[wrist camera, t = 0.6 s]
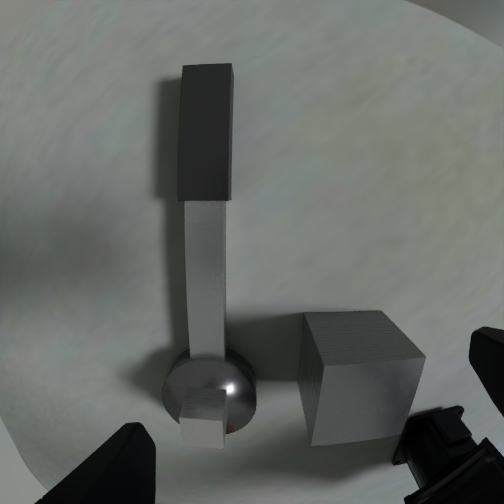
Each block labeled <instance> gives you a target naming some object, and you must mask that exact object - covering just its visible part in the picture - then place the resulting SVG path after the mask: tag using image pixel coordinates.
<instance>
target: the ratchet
mask: <svg viewBox="0 0 504 504" xmlns="http://www.w3.org/2000/svg"><path fill="white" fill-rule="evenodd" d="M233 88H234V74H233V69H232V63H224V64H200V65H185V66H183V70H182V84H181V100H180V120H179V146H178V201H185V265H186V292H187V312H188V329H189V344H190V349H188V350H186V351H185V352H183V353H182V354H180V355H179V356H178V357H177V358H176V360H175V361H174V363H173V365H172V367H171V369H170V372H169V374H168V376H167V378H166V381H165V383H164V385H163V389H162V400H163V404H164V406H165V408H166V410H167V412H168V413H169V414H170V416H171V417H172V418H173V419H174V420H175V421H176V422H178V423H179V424H180V428H181V434H182V440H183V446H191V447H202V448H215V449H224V444H225V435H226V434H229V433H232V432H235V431H237V430H239V429H241V428H243V427H244V426H245V425H247V424H248V423H249V422H250V420H251V419H252V418H253V416H254V414H255V411H256V377H255V373H254V371H253V369H252V367H251V366H250V364H249V363H248V362H247V361H246V360H245V359H244V358H243V357H242V356H240V355H239V354H237V353H236V352H234V351H232V350H230V349H227V333H226V201H229V200H231V173H232V124H233Z"/></svg>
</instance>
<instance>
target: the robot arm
mask: <svg viewBox="0 0 504 504" xmlns="http://www.w3.org/2000/svg"><path fill="white" fill-rule="evenodd" d="M469 361H470V364H471V365H472V367H473V369H474V370H475V372H476V374H477V375H478V377H479V379H480V381H481V382H482V384H483V386H484V387H485V389H486V391H487V393H488V394H489V396H490V398H491V399H492V401H493V403H494V404H495V406H496V407H497V408H498V410H499V411H500V413H501V414H502V416H503V417H504V330H501V329H496V328H491V327H486V326H484V327H481V328H479V329H477V330H475V331H474V332H473V333H472V335H471V341H470V349H469ZM463 412H464V408H463V407H462V406H459V407H455V408H451V409H447V410H443V411H439V412H434V413H430V414H426V415H421V416H416V417H412V418H410V419H409V420H408V422H407V425H406V427H405V430H404V433H403V435H402V438H401V440H400V443H399V445H398V447H397V450H396V452H395V454H394V457H393V459H392V464H393V465H394V466H395V465H400V464H404V463H407V464H408V466H409V468H410V470H411V472H412V474H413V477H414V479H415V481H416V483H417V485H418V487H419V490H417V491H416V492H414V493H413V494H411V495H408V496H406V497H404V502H405V504H504V457H503V456H502V454H501V453H500V452H499V451H498V450H497V449H496V448H495V446H494V445H493V444H492V443H491V442H490V441H489V440H488V439H487V437H485V438H484V439H483V440H482V441H481V443H480V444H479V445H477V444H476V443H475V441H474V440H473V439H472V437H471V436H472V433H471V432H470V431H469V429H468V428H467V427H466V426H465V424H464V423H463V422H462V420H461V417H462V414H463ZM155 493H156V447H155V443H154V441H153V440H152V438H151V437H150V435H149V434H148V432H147V431H146V429H145V427H144V426H143V425H142V424H141V423H139V422H132V423H126V424H124V425H123V426H122V427H121V428H120V429H119V430H118V431H117V432H116V433H114V434H113V435H112V436H111V437H110V438H109V439H108V440H107V441H106V442H105V443H103V444H102V445H101V446H100V447H99V448H98V449H97V450H96V451H95V452H93V453H92V454H91V455H90V456H89V457H88V458H87V459H86V460H84V461H83V462H82V463H81V464H80V465H79V466H78V467H77V468H75V469H74V470H73V471H72V472H71V473H70V474H69V475H67V476H66V477H65V478H64V479H63V480H62V481H60V482H59V483H58V484H57V485H56V486H55V487H54V488H52V489H51V490H50V491H49V492H48V493H46V495H44V496H43V497H42V499H39V500H38V501H37V502H36V503H35V504H155Z"/></svg>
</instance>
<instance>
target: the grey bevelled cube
mask: <svg viewBox="0 0 504 504" xmlns="http://www.w3.org/2000/svg"><path fill="white" fill-rule="evenodd" d="M425 359H426V356H425V355H424V354H423V353H422V352H421V351H420V350H419V349H418V348H417V347H416V346H415V344H414V343H413V342H412V341H411V340H410V339H409V338H408V337H407V336H406V335H405V334H404V333H403V332H402V331H401V330H400V329H399V328H398V327H397V326H396V325H395V324H394V323H393V322H392V321H391V320H390V319H389V318H388V317H387V316H386V315H385V314H384V312H383V311H358V312H304V317H303V329H302V341H301V352H300V363H299V373H298V386H299V391H300V396H301V401H302V406H303V410H304V415H305V420H306V425H307V430H308V435H309V440H310V444H311V446H320V445H332V444H342V443H351V442H359V441H366V440H373V439H379V438H385V437H391V436H396V435H401V433H402V430H403V427H404V425H405V422H406V419H407V417H408V414H409V411H410V408H411V405H412V402H413V399H414V396H415V393H416V390H417V387H418V384H419V380H420V377H421V373H422V370H423V366H424V363H425Z"/></svg>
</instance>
